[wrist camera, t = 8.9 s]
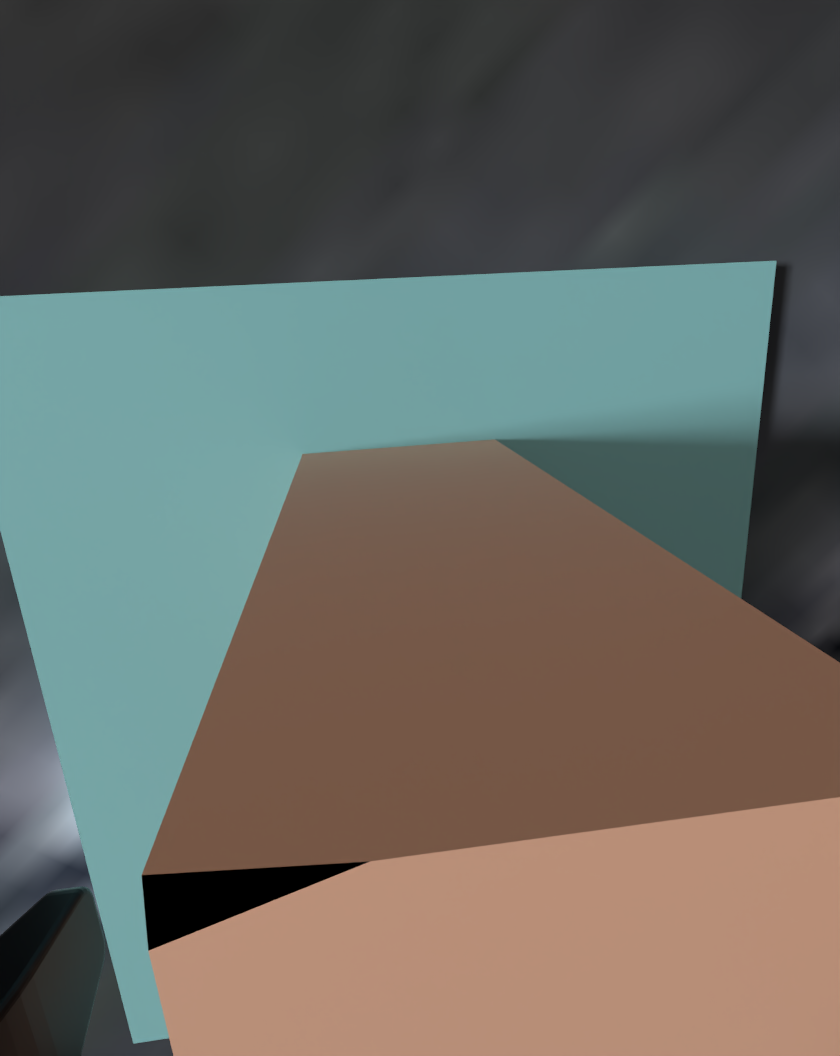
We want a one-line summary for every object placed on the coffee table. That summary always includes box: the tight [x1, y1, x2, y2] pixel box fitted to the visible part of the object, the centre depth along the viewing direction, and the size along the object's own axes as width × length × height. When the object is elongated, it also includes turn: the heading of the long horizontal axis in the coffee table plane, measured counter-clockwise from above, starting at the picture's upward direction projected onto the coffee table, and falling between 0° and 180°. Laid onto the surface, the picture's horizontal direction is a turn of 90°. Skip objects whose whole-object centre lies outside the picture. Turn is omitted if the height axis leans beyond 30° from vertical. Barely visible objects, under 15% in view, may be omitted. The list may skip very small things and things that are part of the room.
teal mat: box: [0, 261, 776, 1044], centre depth 11 cm, size 12×14×1 cm
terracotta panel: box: [142, 439, 840, 1056], centre depth 7 cm, size 3×9×8 cm, turn 3°
